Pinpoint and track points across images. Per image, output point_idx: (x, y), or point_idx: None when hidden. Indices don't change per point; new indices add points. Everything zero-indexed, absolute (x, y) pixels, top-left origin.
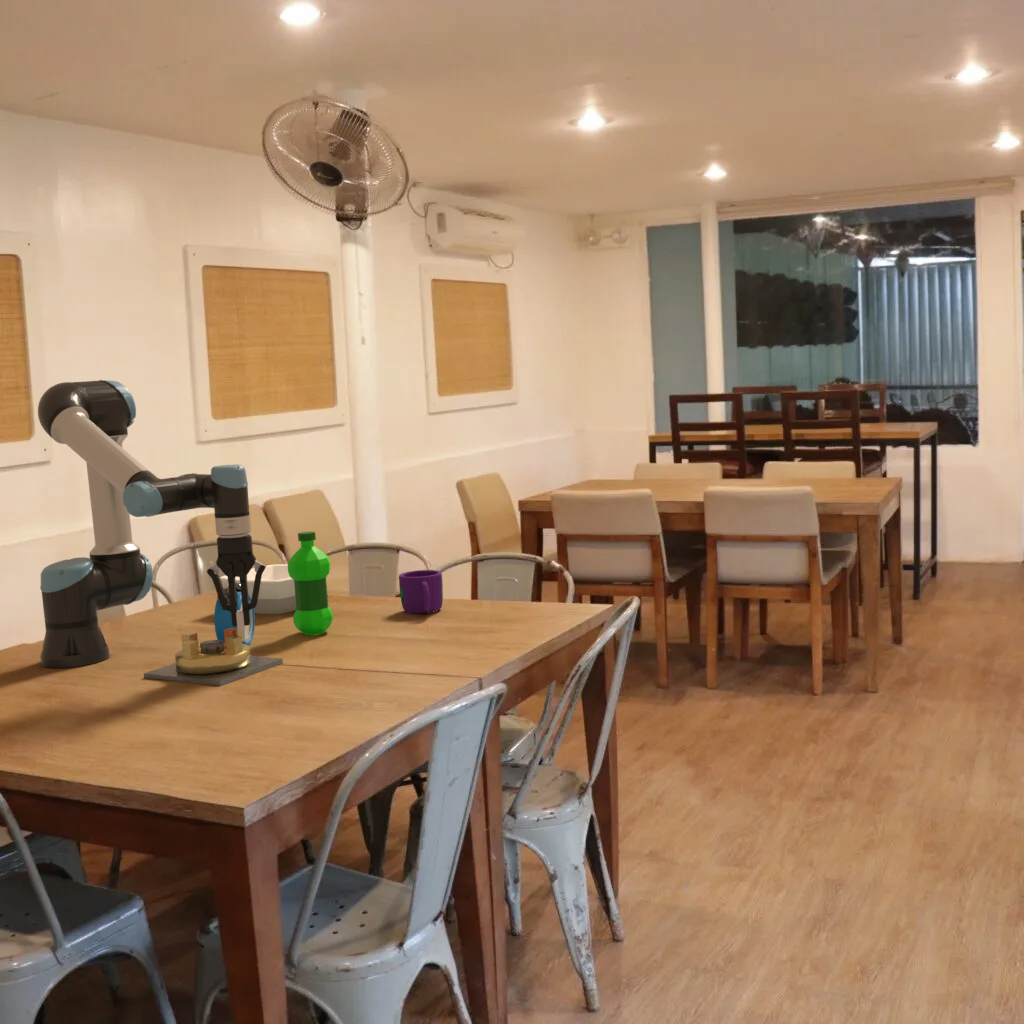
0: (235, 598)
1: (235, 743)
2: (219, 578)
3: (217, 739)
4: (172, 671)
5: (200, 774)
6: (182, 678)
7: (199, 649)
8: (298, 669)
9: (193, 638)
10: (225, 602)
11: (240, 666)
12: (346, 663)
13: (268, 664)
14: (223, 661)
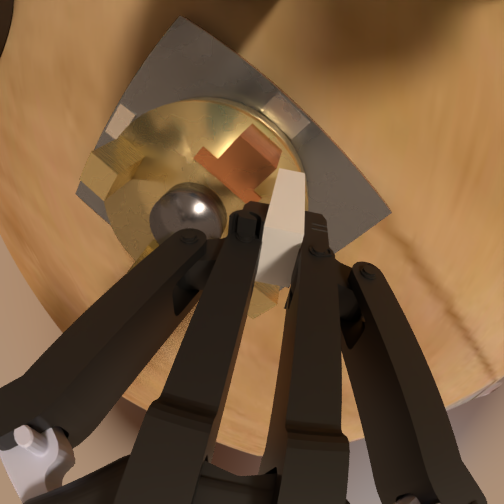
0: (242, 331)
1: (256, 430)
2: (73, 400)
3: (243, 423)
4: None
5: (236, 441)
6: None
7: (151, 172)
8: (396, 280)
9: (118, 182)
10: (186, 309)
11: None
12: (475, 281)
13: (346, 244)
14: None
